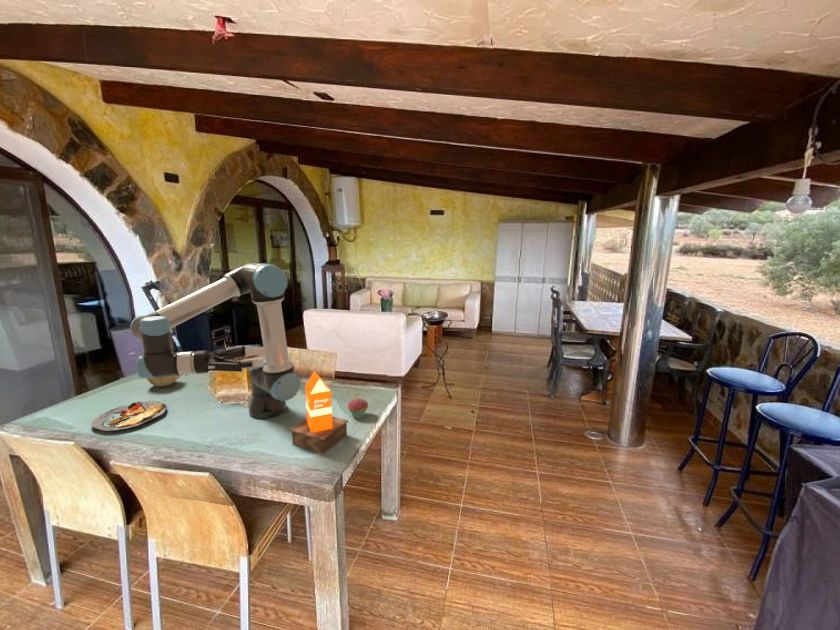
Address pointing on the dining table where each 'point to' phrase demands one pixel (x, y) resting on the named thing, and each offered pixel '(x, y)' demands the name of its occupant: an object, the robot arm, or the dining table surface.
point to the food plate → (138, 410)
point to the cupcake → (357, 407)
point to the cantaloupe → (163, 380)
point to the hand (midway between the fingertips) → (264, 356)
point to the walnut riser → (319, 435)
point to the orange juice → (318, 404)
